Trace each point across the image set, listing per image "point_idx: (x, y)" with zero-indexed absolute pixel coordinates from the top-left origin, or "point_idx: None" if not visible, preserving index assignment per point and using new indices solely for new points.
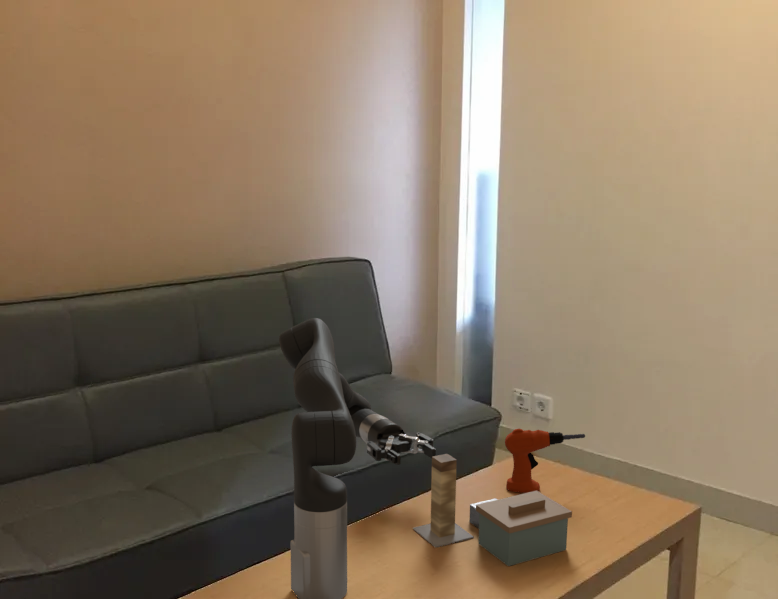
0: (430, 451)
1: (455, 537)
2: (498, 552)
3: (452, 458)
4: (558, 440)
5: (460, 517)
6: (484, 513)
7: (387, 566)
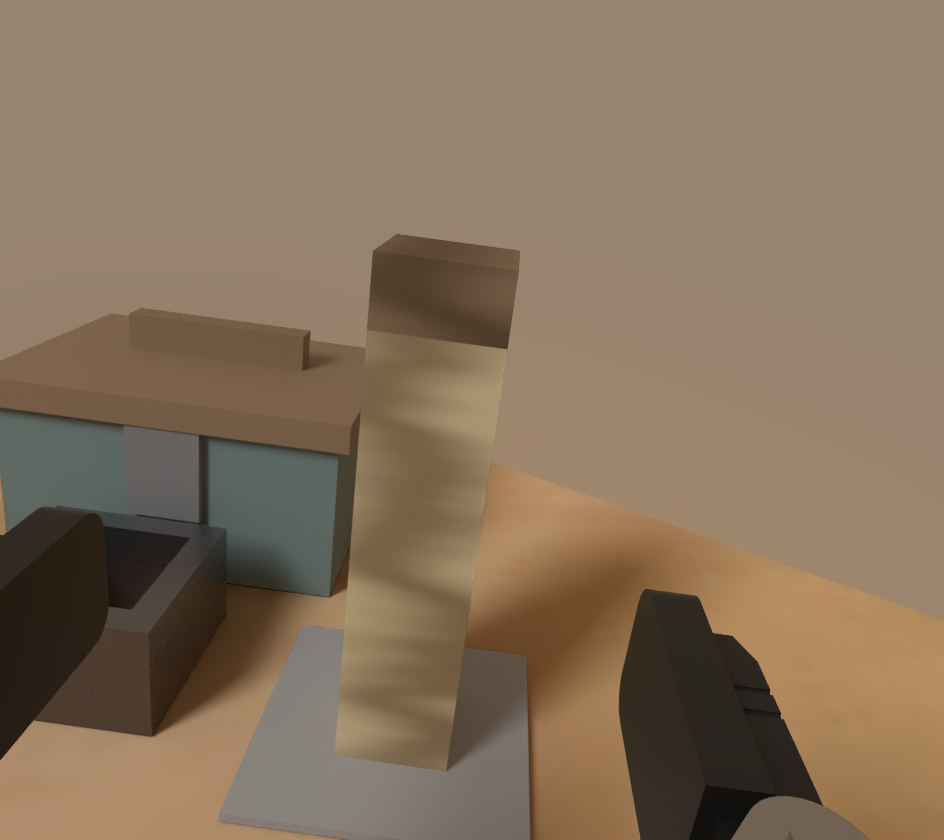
0: (75, 575)
1: None
2: None
3: (405, 239)
4: None
5: (122, 811)
6: None
7: (801, 670)
